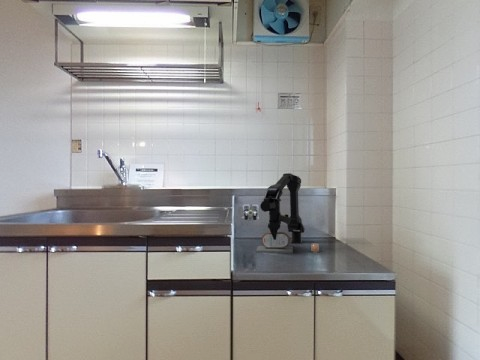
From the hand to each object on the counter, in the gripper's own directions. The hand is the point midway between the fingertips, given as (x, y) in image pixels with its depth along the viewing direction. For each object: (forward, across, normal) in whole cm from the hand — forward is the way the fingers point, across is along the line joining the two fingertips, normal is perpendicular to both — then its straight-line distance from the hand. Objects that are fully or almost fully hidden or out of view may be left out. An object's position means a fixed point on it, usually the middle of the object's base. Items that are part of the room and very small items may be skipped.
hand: (274, 239), depth 176 cm
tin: (+5, 0, 0) cm, 5 cm away
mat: (+6, 0, 0) cm, 6 cm away
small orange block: (+6, -1, -21) cm, 22 cm away
